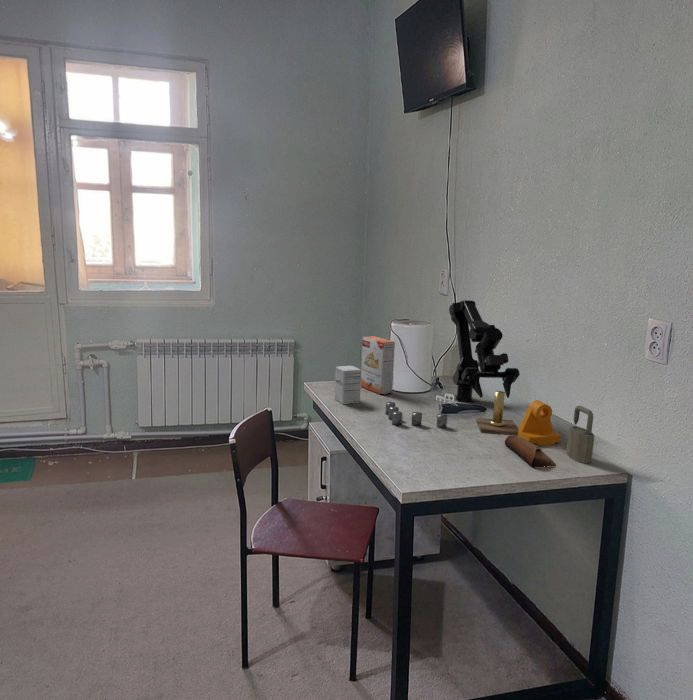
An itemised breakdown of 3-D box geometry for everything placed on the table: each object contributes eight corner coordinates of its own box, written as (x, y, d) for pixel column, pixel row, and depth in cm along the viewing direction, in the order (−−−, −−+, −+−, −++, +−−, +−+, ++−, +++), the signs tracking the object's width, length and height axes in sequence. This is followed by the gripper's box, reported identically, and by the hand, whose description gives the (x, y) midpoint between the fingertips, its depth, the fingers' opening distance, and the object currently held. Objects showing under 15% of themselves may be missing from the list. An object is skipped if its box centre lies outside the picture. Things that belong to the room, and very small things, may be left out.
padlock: (575, 452, 172) (581, 403, 170) (593, 463, 165) (599, 411, 162) (563, 453, 171) (569, 403, 169) (581, 464, 164) (587, 412, 161)
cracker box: (359, 387, 238) (361, 336, 234) (371, 385, 242) (374, 335, 238) (380, 395, 227) (383, 342, 223) (392, 393, 230) (395, 341, 226)
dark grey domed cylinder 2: (388, 417, 200) (389, 406, 199) (397, 418, 199) (398, 406, 199) (388, 420, 197) (389, 408, 196) (398, 420, 196) (398, 409, 196)
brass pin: (486, 424, 193) (489, 391, 191) (495, 421, 196) (498, 389, 194) (498, 427, 190) (501, 394, 187) (507, 425, 193) (510, 392, 191)
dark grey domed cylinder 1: (385, 412, 205) (386, 401, 204) (394, 413, 205) (395, 402, 204) (385, 415, 202) (386, 404, 201) (394, 415, 202) (395, 404, 201)
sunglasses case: (560, 467, 161) (551, 447, 159) (538, 480, 160) (529, 460, 159) (530, 444, 178) (521, 426, 176) (510, 456, 178) (501, 438, 176)
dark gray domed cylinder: (411, 423, 194) (412, 411, 194) (421, 423, 194) (421, 412, 193) (411, 426, 191) (412, 414, 190) (421, 426, 191) (422, 415, 190)
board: (475, 420, 199) (476, 418, 199) (512, 423, 198) (512, 420, 198) (480, 432, 188) (481, 429, 187) (519, 434, 187) (519, 431, 186)
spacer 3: (391, 422, 194) (392, 410, 193) (401, 423, 194) (402, 411, 193) (391, 425, 191) (392, 413, 190) (401, 426, 191) (402, 414, 190)
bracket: (529, 445, 177) (533, 407, 175) (517, 437, 184) (521, 400, 182) (561, 444, 179) (565, 406, 177) (548, 436, 186) (552, 399, 184)
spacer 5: (436, 425, 193) (437, 413, 192) (446, 425, 193) (446, 414, 192) (436, 428, 190) (437, 416, 189) (446, 429, 190) (447, 417, 189)
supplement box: (333, 399, 219) (335, 366, 217) (351, 397, 222) (353, 365, 220) (342, 404, 213) (343, 370, 210) (360, 403, 216) (362, 369, 213)
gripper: (466, 344, 195) (475, 385, 187) (520, 344, 198) (531, 385, 189) (457, 361, 205) (465, 401, 196) (509, 362, 207) (518, 401, 199)
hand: (495, 397), depth 195 cm, fingers open, 9 cm apart
